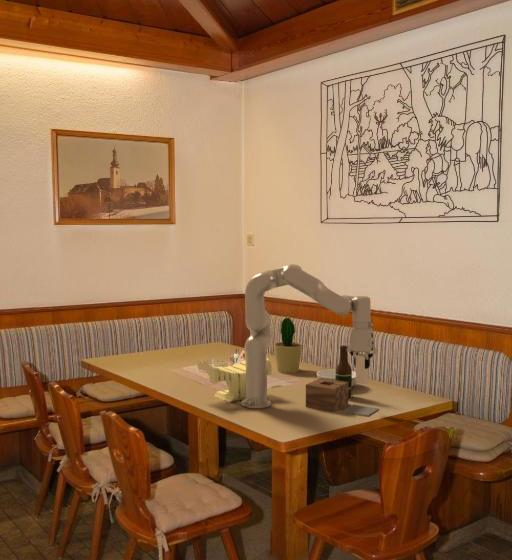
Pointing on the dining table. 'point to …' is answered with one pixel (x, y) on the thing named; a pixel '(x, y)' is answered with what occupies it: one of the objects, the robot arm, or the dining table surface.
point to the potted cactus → (287, 349)
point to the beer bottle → (344, 369)
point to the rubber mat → (360, 410)
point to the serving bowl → (333, 375)
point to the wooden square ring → (327, 394)
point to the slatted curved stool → (230, 379)
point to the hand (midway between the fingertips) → (361, 367)
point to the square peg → (361, 369)
